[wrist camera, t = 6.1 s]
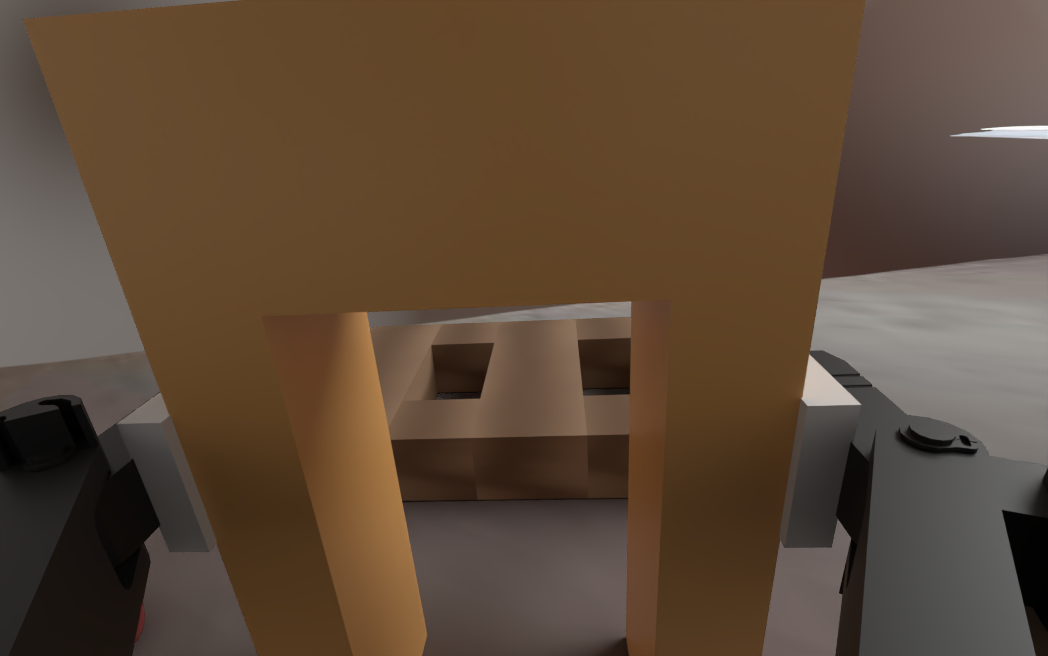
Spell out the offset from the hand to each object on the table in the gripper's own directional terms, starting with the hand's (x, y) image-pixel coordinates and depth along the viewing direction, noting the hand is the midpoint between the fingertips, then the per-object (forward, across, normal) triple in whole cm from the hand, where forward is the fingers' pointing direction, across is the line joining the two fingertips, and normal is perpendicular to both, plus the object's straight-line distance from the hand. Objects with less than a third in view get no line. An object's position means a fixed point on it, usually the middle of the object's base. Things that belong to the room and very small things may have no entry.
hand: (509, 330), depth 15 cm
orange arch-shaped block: (-4, 0, -9) cm, 10 cm away
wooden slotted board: (+10, 0, -9) cm, 13 cm away
